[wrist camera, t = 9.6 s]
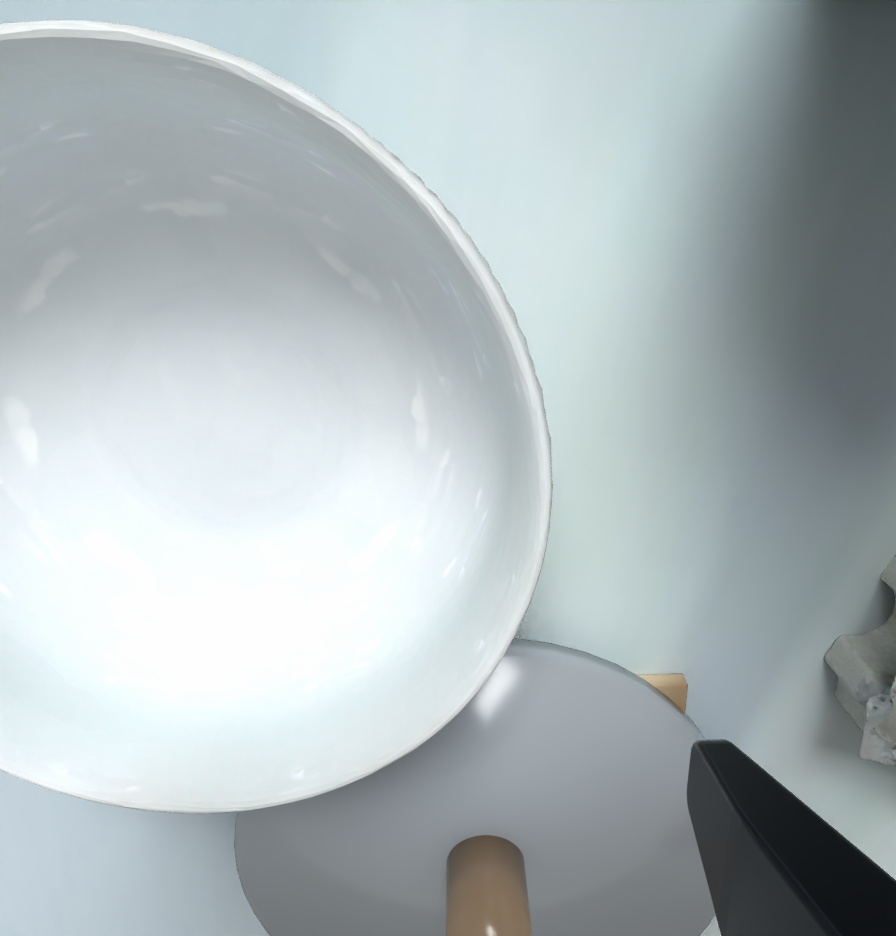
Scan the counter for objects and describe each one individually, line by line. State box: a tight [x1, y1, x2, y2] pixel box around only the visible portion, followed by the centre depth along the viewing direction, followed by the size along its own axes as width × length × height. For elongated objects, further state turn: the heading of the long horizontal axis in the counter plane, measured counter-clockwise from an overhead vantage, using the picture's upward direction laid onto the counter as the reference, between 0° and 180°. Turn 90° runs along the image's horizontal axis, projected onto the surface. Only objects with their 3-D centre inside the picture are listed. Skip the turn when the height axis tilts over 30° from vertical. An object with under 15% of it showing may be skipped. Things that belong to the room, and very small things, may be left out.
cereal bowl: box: [0, 20, 553, 814], centre depth 17 cm, size 17×17×7 cm
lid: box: [234, 638, 715, 936], centre depth 24 cm, size 18×18×5 cm
